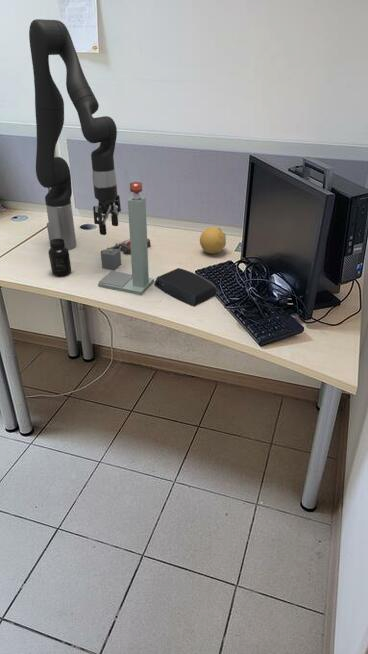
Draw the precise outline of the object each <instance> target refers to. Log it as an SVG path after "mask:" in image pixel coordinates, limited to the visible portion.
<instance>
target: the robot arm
mask: <svg viewBox="0 0 368 654" xmlns="http://www.w3.org/2000/svg"><path fill="white" fill-rule="evenodd" d="M28 32H29V33H28V34H29V35H28V39H29V47H30V55H31V64H32V72H33V81H34V82H33V85H34V111H35V112H34V113H35V124H36V127H35V128H36V151H35V153H36V154H35V157H36V158H35V174H36V178H37V181H38V183H39V184H40V186H42V187H43V188H46V189H49V188H50V189H49V191H48V193H46V195H45V196H44V200H45V201H44V202H45V207H46V213H47V220H48V222H46V228H47V233H48V240H49V242H50V241H51V240H53V239H63V240H64V243H65V247H67V248H68V250H72V249H74V248H76V246H77V239H76V231H75V221H74V215H73V207H72V201H71V200H72V194H73V189H72V176H71V170H70V167H69V164H68V162H67V161H66V160H65V159H64V158H63V157H60V156H55V154H56V153H55V152H56V151H55V150H56V145H57V143H58V140H59V139H60V136H61V133H62V131H63V128H64V125H65V101H64V98H63V95H62V94H61V91H60V90H59V88H58V85H56V82H55V81H54V79H53V77H52V74H51V69H50V62H49V61H50V59H49V58H50V56H57V55H58V56H59V57H60V58H61V60H62V61H63V63H64V65H65V69H66V71H65V72H66V75H65V78H66V80H65V86H66V92H67V95H68V96H69V99H70V100H71V102H72V104H73V106H74V108H75V110H76V112H77V116H78V119H79V123H80V128H81V132H82V136H83V137H84V139H85V140H86V141H87V142H89V143H90V144H98V143H99V146H98V147H97V148H96V149H93V151H91V155H90V157H91V158H90V161H91V166H92V167H91V168H92V184H93V194H94V198H95V200H97V201H98V205H96V206H95V205H94V206H93V207H92V208H93V209H92V210H93V211H92V212H93V222H94V225H98V228H99V229H98V230H99V235H103V236H107V224H106V222H107V219H108V218H109V215H110V216H111V225H112V226H113V227H118V226H119V214H120V213H121V212H122V209H121V208H122V207H121V199H120V195H118V186H117V177H116V176H117V175H116V174H117V173H116V169H115V158H114V154H115V149H116V143H117V135H118V129H117V125H116V123H115V120H114V119H113V118H112V117H111V116H107V115H106V116H105V115H104V116H100V117H99V116H98V117H93V114H95V113H96V112H97V111H98V110H99V108H100V107H99V105H100V104H99V102H98V100H97V99H98V98H96V95H95V93H94V92H93V90H92V88H91V86H90V84H89V82H88V79H87V78H86V76H85V73H84V71H83V68H82V66H81V63H80V59H79V57H78V53H77V51H76V48H75V45H74V42H73V39H72V36H71V34H70V31H69V30H68V28H67V26H66V25H65V23H64V22H63V21H61V20H58V19H57V20H56V19H44V18H43V19H39V18H38V19H36V18H35V19H33V20H32V21H31V22H30V25H29V31H28Z"/></svg>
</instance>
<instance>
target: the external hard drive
mask: <svg viewBox="0 0 368 654" xmlns="http://www.w3.org/2000/svg"><path fill="white" fill-rule="evenodd" d="M153 286H154V287H155V288H157V289H159V290H160V291H162V292H163V293H164V294H167V295H168V296H170V297H172V298H174V299H176V300H177V301H179V302H182V303H183V304H185V305H188V306H191V307H196V306H198V305H200V304H203V303H204V302H206V301H208V300H210V299H212V298H215V297H216V296H217V295H216V292H217V291H218V289H217V288H218V287H216V285H215V284H213V282H211V281H209V280H208V279H206V278H205V277H204V276H200V275H199V274H197V273H194V272H192V271H189V270H187V269H183V268H180V267H177V268H175V269H173V270H171V271H168V272H166V273H164V274H161V275H159V276H157V277H156V279H154V282H153ZM218 292H219V291H218ZM215 295H216V296H215Z"/></svg>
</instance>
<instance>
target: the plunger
mask: <svg viewBox="0 0 368 654" xmlns="http://www.w3.org/2000/svg"><path fill="white" fill-rule="evenodd" d="M129 190H130V192H131V193H132V194H133V196H134V200H140V197H141V195H140V193H142V192H143V183H142V182H139V181H133V182H130V183H129Z"/></svg>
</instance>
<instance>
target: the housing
mask: <svg viewBox="0 0 368 654" xmlns="http://www.w3.org/2000/svg"><path fill="white" fill-rule="evenodd" d="M103 250H104V251H103V252H102V253H101V252H100V256H101V257H100V258H101V259H100V260H101V265H102V266H101V267H102V269H104V270H110V271H117V269H118V268H119V267H121V266H122V258H121V257H122V255H121V251H120V250H118V249H113V248H111V247H107V248H106V250H105V249H103Z"/></svg>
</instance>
